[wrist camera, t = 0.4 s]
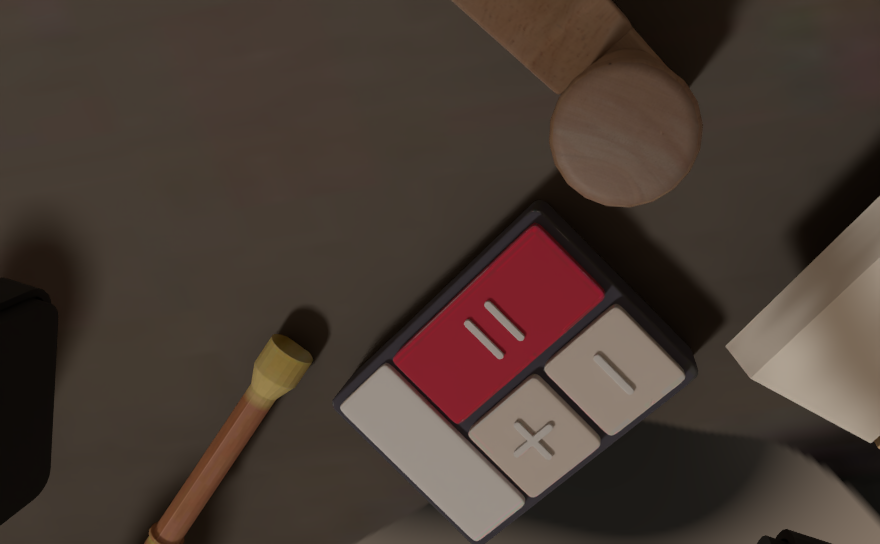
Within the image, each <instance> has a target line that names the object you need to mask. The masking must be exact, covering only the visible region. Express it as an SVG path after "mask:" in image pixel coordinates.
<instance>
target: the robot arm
mask: <svg viewBox="0 0 880 544" xmlns="http://www.w3.org/2000/svg"><path fill="white" fill-rule="evenodd" d="M57 331H58V312H57V309H56V307H55V306H54V305H53V304H51V300H50V297H49V295H48V294H47V293H46V292H45V291H44V290H42V289H39V288H35V287H32V286H29V285H26V284H23V283H20V282H17V281H14V280H11V279H7V278H0V525H2V524H3V523H4V522H5V521H7V520H8V519H9V518H10V517H12V516H13V515H14V514H16V513H17V512H18V511H19V510H21V509H22V508H23V507H25V506H26V505H27V504H28V503H30V502H31V501H32V500H34V499H35V498H36V497H37V496H38V495H39V494H40V492H41V491H42V490H43V488H44V487H45V485H46V483H47V481H48V478H49V475H50V468H51V448H52V429H53V409H54V390H55V370H56V351H57ZM757 544H831V543H828V542H825V541H822V540H819V539H816V538H813V537H809V536H806V535H803V534H800V533H797V532H794V531H791V530H788V529H785V530H782V531H781V532H780V533H779V534H778V535H777V537H776V539H775V538H772V537H769V536H763V537H762V538H761V539H760V540H759V541H758V543H757Z"/></svg>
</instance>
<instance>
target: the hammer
mask: <svg viewBox="0 0 880 544" xmlns="http://www.w3.org/2000/svg"><path fill="white" fill-rule="evenodd" d="M312 361H313V358H312V356H311V354H310V353H309V352H308V351H307V350H305V349H304V348H302V347H301V346H300V345H298V344H297V343H295V342H294V341H293V340H291V339H290V338H288V337H286V336H284V335H280V334H274V335H272V337H271V338H270V340H269V341H268V343H267V344H266V346H265V347H264V349H263V350H262V352H261V353H260V355H259V356H258V358H257V359H256V361H255V364H254V370H253V376H252V382H251V385H250V386H249V388H248V389H247V391H246V392H245V394H244V395H243V397H242V398H241V400H240V401H239V403H238V404H237V405H236V407H235V408H234V410H233V411H232V413H231V414H230V416H229V417H228V419H227V420H226V422H225V423H224V425H223V426H222V428H221V429H220V431H219V432H218V434H217V435H216V437H215V438H214V440H213V441H212V443H211V444H210V446H209V447H208V449H207V450H206V452H205V453H204V455H203V456H202V458H201V459H200V461H199V462H198V464H197V465H196V467H195V468H194V470H193V471H192V473H191V474H190V476H189V477H188V479H187V480H186V482H185V483H184V485H183V486H182V488H181V489H180V491H179V492H178V494H177V495H176V497H175V498H174V500H173V501H172V503H171V504H170V505H169V507H168V508H167V510H166V511H165V513H164V514H163V516H162V517H161V519H160V520H159V522H156V523H154V524H153V525H152V526H151V528H150V529H149V537H148V538H147V540H146V541H145V543H144V544H183V543H184V536H185V535H186V533H187V532H188V530H189V529H190V527H191V526H192V524H193V523H194V521H195V520H196V518H197V517H198V515H199V514H200V512H201V511H202V509H203V508H204V506H205V505H206V503H207V502H208V500H209V499H210V497H211V496H212V494H213V493H214V491H215V490H216V488H217V487H218V485H219V484H220V482H221V481H222V479H223V478H224V476H225V475H226V474H227V472H228V471H229V469H230V468H231V466H232V465H233V463H234V462H235V460H236V459H237V457H238V456H239V454H240V453H241V451H242V450H243V448H244V447H245V445H246V444H247V442H248V441H249V439H250V438H251V436H252V435H253V433H254V432H255V430H256V429H257V427H258V426H259V424H260V423H261V421H262V420H263V418H264V417H265V415H266V414H267V412H268V411H269V409H270V408H271V406H272V405H273V403H274V402H275V400H276V399H277V398H279V397H281V396H282V395H284V394H285V393H287V392H289V391H290V390H292V389H293V388H295V387H296V385H297V384H298V382H299V381H300V379H301V378H302V377H303V375H304V374H305V372H306V371H307V369H308V368H309V366H310V365H311V363H312Z"/></svg>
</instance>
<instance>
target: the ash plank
mask: <svg viewBox="0 0 880 544" xmlns="http://www.w3.org/2000/svg"><path fill="white" fill-rule="evenodd" d="M726 348H727V349H728V350H729V352H730V353H731V354H732V355H733V357H734V358H735V359H736V361H737V362H738V363H739V364H740V366H741V367H742V368H743V370H744V371H745V372H746V374H747V375H748V376H749V377H750V378H751V379H752V380H754V381H756V382H758V383H760V384H762V385H764V386H765V387H767V388H769V389H771V390H773V391H775V392H777V393H778V394H780V395H782V396H784V397H786V398H788V399H790V400H791V401H793V402H795V403H797V404H799V405H801V406H803V407H804V408H806V409H808V410H810V411H812V412H814V413H815V414H817V415H819V416H821V417H823V418H825V419H827V420H828V421H830V422H832V423H834V424H836V425H838V426H840V427H841V428H843V429H845V430H847V431H849V432H851V433H853V434H854V435H856V436H858V437H860V438H862V439H864V440H866V441H867V442H869V443H872V442H873V441H874V440H875V439H877V438H878V437H879V436H880V196H879V197H878V198H877V199H876V200H875V201H874V202H873V203H872V204H871V205H870V206H869V207H868V208H867V209H866V210H865V211H864V212H863V213H862V214H861V215H860V216H859V217H858V218H857V219H856V220H855V221H854V222H852V223H851V224H850V225H849V226H848V227H847V228H846V229H845V230H844V231H843V232H842V233H841V234H840V235H839V236H838V237H837V238H836V239H835V240H834V241H833V242H832V243H831V244H830V245H829V246H828V247H827V248H826V249H825V250H824V251H823V252H822V253H821V254H820V255H819V256H818V257H817V258H816V259H814V260H813V261H812V262H811V263H810V264H809V265H808V266H807V267H806V268H805V269H804V270H803V271H802V272H801V273H800V274H799V275H798V276H797V277H796V278H795V279H794V280H793V281H792V282H791V283H790V284H789V285H788V286H787V287H786V288H785V289H784V290H783V291H782V292H781V293H780V294H779V295H778V296H776V297H775V298H774V299H773V300H772V301H771V302H770V303H769V304H768V305H767V306H766V307H765V308H764V309H763V310H762V311H761V312H760V313H759V314H758V315H757V316H756V317H755V318H754V319H753V320H752V321H751V322H750V323H749V324H748V325H747V326H746V327H745V328H744V329H743V330H742V331H741V332H740V333H738V334H737V335H736V336H735V337H734V338H733V339H732V340H731V341H730V342H729V343H728V344H727V345H726Z"/></svg>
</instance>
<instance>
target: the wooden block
mask: <svg viewBox="0 0 880 544" xmlns="http://www.w3.org/2000/svg"><path fill="white" fill-rule="evenodd" d="M451 1H452V2H454V3H455V4H456V5H457V6H458V7H459V8H460V9H461V10H463V11H464V12H465V13H466V14H467V15H468V16H469V17H470V18H471V19H473V20H474V21H475V22H476V23H477V24H478V25H479V26H480V27H482V28H483V29H484V30H485V31H486V32H487V33H488V34H489V35H491V36H492V37H493V38H494V39H495V40H496V41H497V42H498V43H499V44H501V45H502V46H503V47H504V48H505V49H506V50H507V51H508V52H510V53H511V54H512V55H513V56H514V57H515V58H516V59H517V60H519V61H520V62H521V63H522V64H523V65H524V66H525V67H526V68H528V69H529V70H530V71H531V72H532V73H533V74H534V75H535V76H536V77H538V78H539V79H540V80H541V81H542V82H543V83H544V84H545V85H547V86H548V87H549V88H550V89H551V90H552V91H553V92H555V93H557V94H561V95H560V97H559V99H558V101H557V104H556V107H555V109H554V112H553V114H552V117H551V120H550V137H549V144H550V148H551V151H552V155H553V159H554V163H555V165H556V167H557V169H558V170H559V172H560V173H561V175H562V176H563V178H564V179H565V181H566V182H567V184H568V185H570V186H571V187H572V188H573V189H575V190H576V191H577V192H578V193H580V194H581V195H582V196H583V197H585V198H587V199H589V200H592V201H595V202H597V203H600V204H602V205H605V206H615V207H633V206H637V205H642V204H646V203H650V202H653V201H655V200H657V199H658V198H660V197H662V196H663V195H665V194H667V193H668V192H670V191H672V190H674V188H675V187H676V186H677V185H678V184H679V183H680V182H681V181H682V180H683V179H684V177H685V176H686V175H687V174H688V173H689V172H690V170H691V168H692V166H693V164H694V162H695V159H696V157H697V155H698V153H699V151H700V146H701V137H702V129H703V124H702V119H701V114H700V110H699V105H698V101H697V100H696V98H695V97H694V95H693V93H692V92H691V90H690V88H689V87H688V85H687V84H686V82H685V81H684V80H683V79H682V78H680V77H679V76H678V75H677V74H675V73H674V72H673V71H672V70H670V69H669V68H668V67H667V66H666V65H665V63H664V62H663V61H662V60H661V59H660V58H659V57H658V55H657V54H656V53H655V52H654V51H653V50H652V49H651V48H650V46H649V45H648V44H647V43H646V42H645V41H644V40H643V38H642V37H641V36H640V35H639V34H638V33H637V32H636V31H635V29H634V28H633V27H632V26H631V23H630V21H629V19H628V18H627V17H626V16H625V15H624V14H623V12H622V11H621V10H620V9H619V8H618V7H617V5H616V4H615V3H614V2H613V1H612V0H451Z"/></svg>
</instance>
